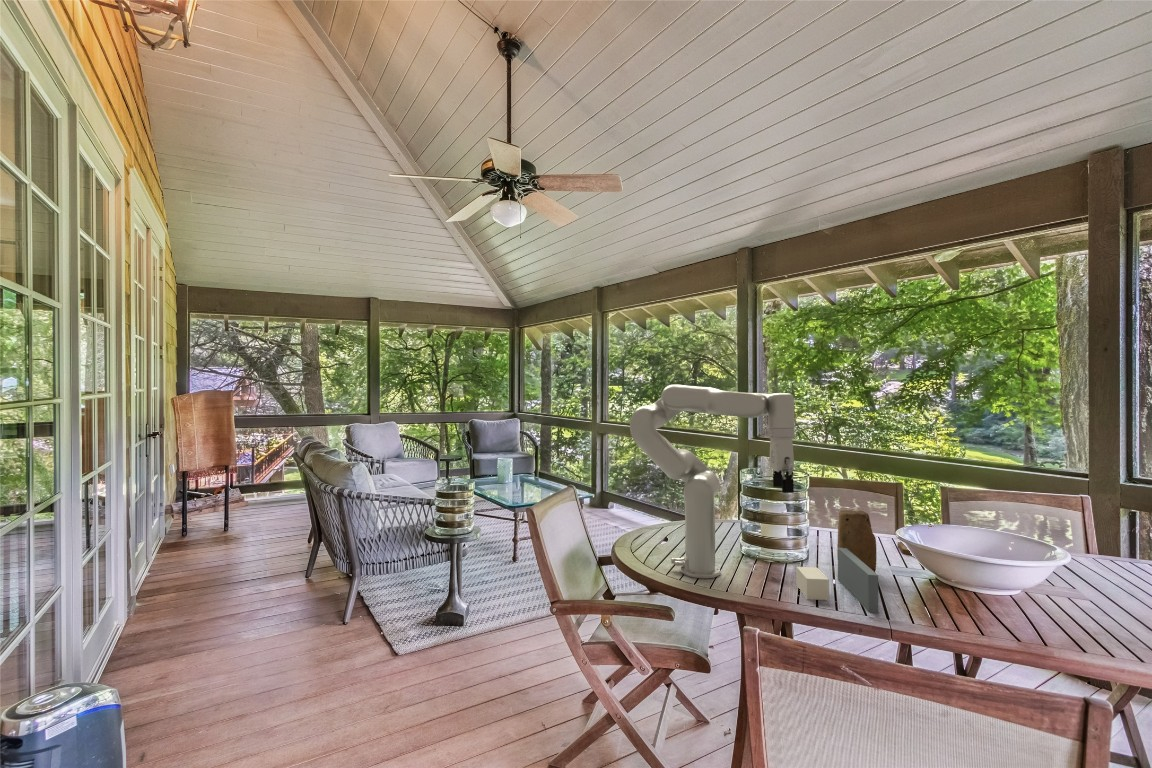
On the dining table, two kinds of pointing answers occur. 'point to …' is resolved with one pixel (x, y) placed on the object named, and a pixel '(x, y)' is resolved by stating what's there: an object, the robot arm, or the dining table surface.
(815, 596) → the cream block
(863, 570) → the slate board
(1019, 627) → the dining table surface
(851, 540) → the block
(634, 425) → the robot arm
